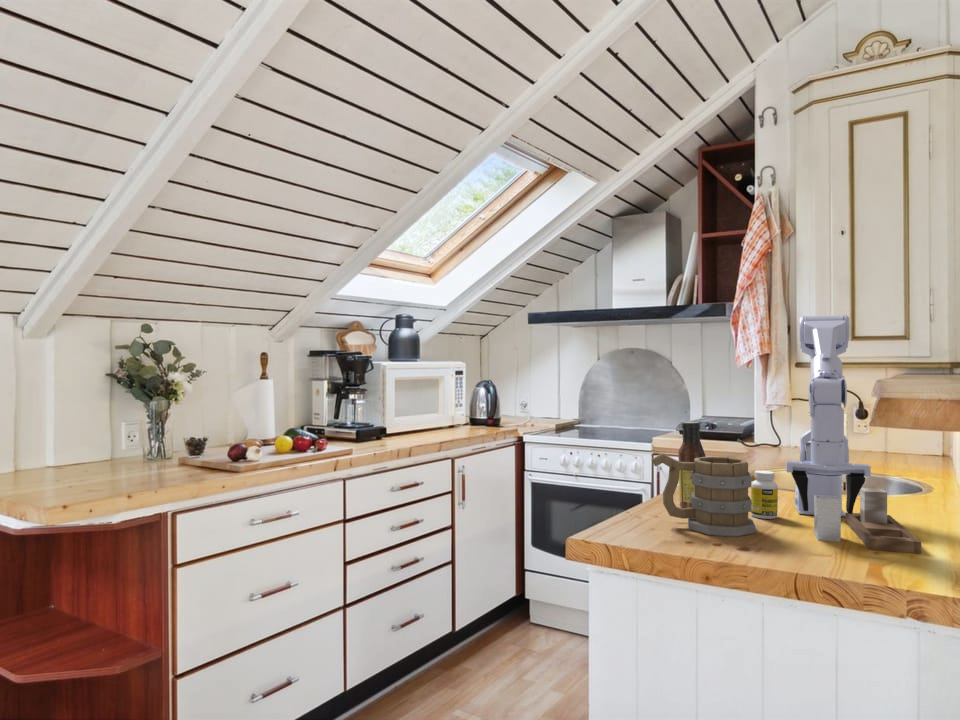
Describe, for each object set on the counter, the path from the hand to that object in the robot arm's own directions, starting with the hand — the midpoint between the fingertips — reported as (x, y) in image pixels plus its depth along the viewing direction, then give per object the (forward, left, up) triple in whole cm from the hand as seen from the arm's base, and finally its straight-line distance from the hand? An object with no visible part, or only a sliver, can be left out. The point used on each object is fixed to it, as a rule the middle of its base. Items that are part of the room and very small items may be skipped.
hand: (827, 511), depth 135 cm
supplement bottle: (-10, +16, -5) cm, 20 cm away
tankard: (-23, +2, -5) cm, 24 cm away
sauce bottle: (-25, +20, -5) cm, 33 cm away
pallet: (+10, +5, -5) cm, 12 cm away
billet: (0, 0, -5) cm, 5 cm away
